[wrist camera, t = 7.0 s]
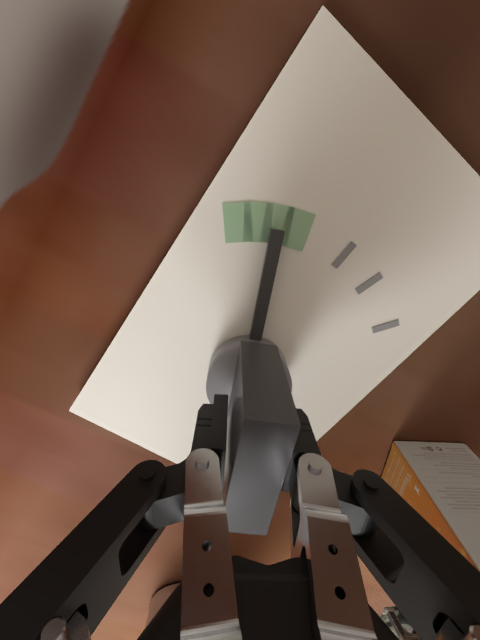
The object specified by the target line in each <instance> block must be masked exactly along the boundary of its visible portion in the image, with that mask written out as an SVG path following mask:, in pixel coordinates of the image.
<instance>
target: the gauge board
mask: <svg viewBox="0 0 480 640" xmlns="http://www.w3.org/2000/svg"><path fill="white" fill-rule="evenodd" d="M270 228H273V229H279V230H284V231H285V233H284V238H283V243H282V247H281V252H280V256H279V261H278V266H277V270H276V275H275V280H274V284H273V289H272V293H271V298H270V303H269V307H268V312H267V316H266V321H265V326H264V330H263V335H262V337H263V338H266V339H268V340H270V341H271V342H273V343H274V344H275V345H276V346H277V347H278V348H279V349H280V350H281V352H282V353H283V355H284V357H285V360H286V363H287V366H288V370H289V373H290V376H291V379H292V392H291V394H292V397H293V401H294V404H295V407H296V408H298V409H302V410H303V411H304V412H305V414H306V415H307V416H308V419H309V422H310V425H311V427H312V432H313V433H314V436H315V439H316V442H317V441H318V440H319V439H320V438H321V437H322V436H323V435H324V434H325V433H326V432H327V431H328V430H329V429H331V428H332V427H333V426H334V425H335V424H336V423H337V422H338V421H339V420H340V419H341V418H342V417H343V416H345V415H346V414H347V413H348V412H349V411H350V410H351V409H352V408H353V407H354V406H355V405H356V404H357V403H359V402H360V401H361V400H362V399H363V398H364V397H365V396H366V395H367V394H368V393H369V392H370V391H371V390H373V389H374V388H375V387H376V386H377V385H378V384H379V383H380V382H381V381H382V380H383V379H384V378H385V377H387V376H388V375H389V374H390V373H391V372H392V371H393V370H394V369H395V368H396V367H397V366H398V365H399V364H400V363H402V362H403V361H404V360H405V359H406V358H407V357H408V356H409V355H410V354H411V353H412V352H413V351H414V350H416V349H417V348H418V347H419V346H420V345H421V344H422V343H423V342H424V341H425V340H426V339H427V338H428V337H430V336H431V335H432V334H433V333H434V332H435V331H436V330H437V329H438V328H439V327H440V326H441V325H442V324H444V323H445V322H446V321H447V320H448V319H449V318H450V317H451V316H452V315H453V314H454V313H455V312H456V311H458V310H459V309H460V308H461V307H462V306H463V305H464V304H465V303H466V302H467V301H468V300H469V299H470V298H472V297H473V296H474V295H475V294H476V293H477V292H478V291H479V290H480V176H479V175H478V174H477V173H476V172H475V170H474V169H473V168H472V167H471V166H470V165H469V164H468V163H467V162H466V161H465V160H464V158H463V157H462V156H461V155H460V154H459V153H458V152H457V151H456V150H455V149H454V148H453V146H452V145H451V144H450V143H449V142H448V141H447V140H446V139H445V138H444V137H443V136H442V134H441V133H440V132H439V131H438V130H437V129H436V128H435V127H434V126H433V125H432V124H431V122H430V121H429V120H428V119H427V118H426V117H425V116H424V115H423V114H422V113H421V111H420V110H419V109H418V108H417V107H416V106H415V105H414V104H413V103H412V102H411V101H410V99H409V98H408V97H407V96H406V95H405V94H404V93H403V92H402V91H401V90H400V89H399V87H398V86H397V85H396V84H395V83H394V82H393V81H392V80H391V79H390V78H389V77H388V75H387V74H386V73H385V72H384V71H383V70H382V69H381V68H380V67H379V66H378V65H377V63H376V62H375V61H374V60H373V59H372V58H371V57H370V56H369V55H368V54H367V53H366V51H365V50H364V49H363V48H362V47H361V46H360V45H359V44H358V43H357V42H356V41H355V39H354V38H353V37H352V36H351V35H350V34H349V33H348V32H347V31H346V30H345V29H344V27H343V26H342V25H341V24H340V23H339V22H338V21H337V20H336V19H335V18H334V17H333V15H332V14H331V13H330V12H329V11H328V10H327V9H326V8H325V7H324V6H322V7H321V9H320V10H319V12H318V14H317V15H316V17H315V18H314V20H313V22H312V23H311V25H310V26H309V28H308V30H307V31H306V33H305V34H304V36H303V38H302V39H301V41H300V42H299V44H298V46H297V47H296V49H295V50H294V52H293V54H292V55H291V57H290V58H289V60H288V62H287V63H286V65H285V66H284V68H283V70H282V71H281V73H280V74H279V76H278V77H277V79H276V81H275V82H274V84H273V85H272V87H271V89H270V90H269V92H268V93H267V95H266V97H265V98H264V100H263V101H262V103H261V105H260V106H259V108H258V109H257V111H256V113H255V114H254V116H253V117H252V119H251V121H250V122H249V124H248V125H247V127H246V129H245V130H244V132H243V133H242V135H241V137H240V138H239V140H238V141H237V143H236V145H235V146H234V148H233V149H232V151H231V153H230V154H229V156H228V157H227V159H226V161H225V162H224V164H223V165H222V167H221V169H220V170H219V172H218V173H217V175H216V177H215V178H214V180H213V181H212V183H211V185H210V186H209V188H208V189H207V191H206V192H205V194H204V196H203V197H202V199H201V200H200V202H199V204H198V205H197V207H196V208H195V210H194V212H193V213H192V215H191V216H190V218H189V220H188V221H187V223H186V224H185V226H184V228H183V229H182V231H181V232H180V234H179V236H178V237H177V239H176V240H175V242H174V244H173V245H172V247H171V248H170V250H169V252H168V253H167V255H166V256H165V258H164V260H163V261H162V263H161V264H160V266H159V268H158V269H157V271H156V272H155V274H154V276H153V277H152V279H151V280H150V282H149V284H148V285H147V287H146V288H145V290H144V292H143V293H142V295H141V296H140V298H139V300H138V301H137V303H136V304H135V306H134V307H133V309H132V311H131V312H130V314H129V315H128V317H127V319H126V320H125V322H124V323H123V325H122V327H121V328H120V330H119V331H118V333H117V335H116V336H115V338H114V339H113V341H112V343H111V344H110V346H109V347H108V349H107V351H106V352H105V354H104V355H103V357H102V359H101V360H100V362H99V363H98V365H97V367H96V368H95V370H94V371H93V373H92V375H91V376H90V378H89V379H88V381H87V383H86V384H85V386H84V387H83V389H82V391H81V392H80V394H79V395H78V397H77V399H76V400H75V402H74V403H73V405H72V407H71V408H70V410H69V411H70V412H72V413H74V414H76V415H78V416H80V417H82V418H85V419H87V420H89V421H91V422H93V423H95V424H97V425H99V426H101V427H103V428H105V429H107V430H109V431H111V432H113V433H115V434H117V435H119V436H121V437H123V438H125V439H127V440H129V441H131V442H133V443H136V444H138V445H140V446H142V447H144V448H146V449H148V450H150V451H152V452H154V453H156V454H158V455H160V456H162V457H164V458H166V459H168V460H170V461H172V462H174V463H176V464H178V463H180V462H182V461H184V460H185V459H186V458H187V457H188V455H189V454H190V452H191V448H192V442H193V437H194V431H195V426H196V420H197V414H198V410H199V409H200V407H201V406H202V405H203V404H210V402H209V400H208V397H207V393H206V381H207V375H208V369H209V363H210V360H211V357H212V355H213V353H214V352H215V350H216V349H217V348H218V347H219V346H220V345H221V344H223V343H224V342H225V341H227V340H229V339H231V338H234V337H237V336H242V335H249V334H250V329H251V324H252V319H253V314H254V309H255V304H256V299H257V294H258V289H259V284H260V278H261V273H262V268H263V263H264V258H265V253H266V248H267V243H268V238H269V233H270Z"/></svg>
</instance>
